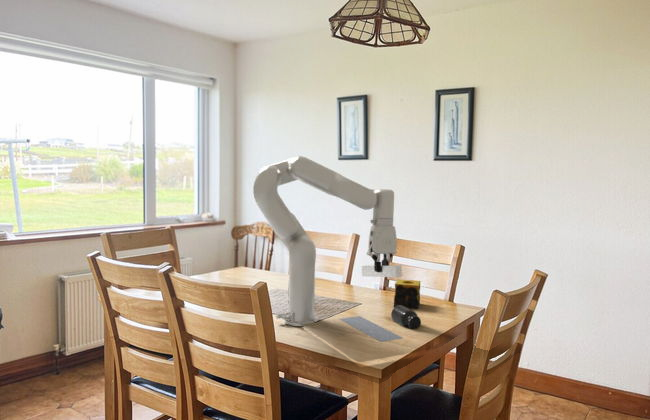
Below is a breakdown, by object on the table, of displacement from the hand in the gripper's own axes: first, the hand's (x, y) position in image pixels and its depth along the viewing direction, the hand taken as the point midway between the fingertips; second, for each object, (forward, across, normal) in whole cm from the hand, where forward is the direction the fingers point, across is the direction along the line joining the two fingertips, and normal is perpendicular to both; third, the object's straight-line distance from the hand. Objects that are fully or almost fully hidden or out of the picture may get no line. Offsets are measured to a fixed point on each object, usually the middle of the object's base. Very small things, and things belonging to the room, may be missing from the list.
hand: (381, 271), depth 195 cm
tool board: (+19, -11, -9) cm, 24 cm away
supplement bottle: (+15, +5, -5) cm, 17 cm away
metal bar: (+2, 0, 0) cm, 2 cm away
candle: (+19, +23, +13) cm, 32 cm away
